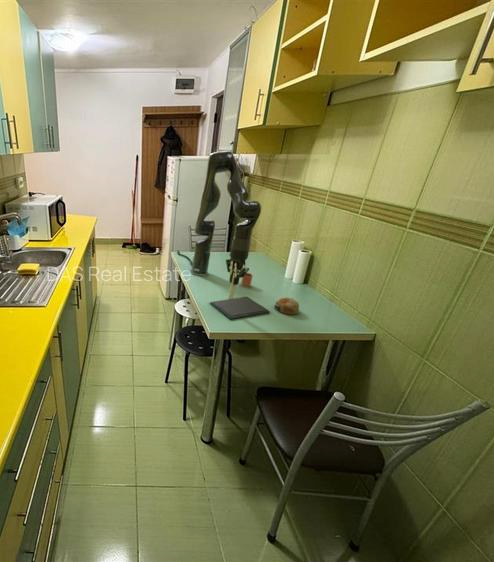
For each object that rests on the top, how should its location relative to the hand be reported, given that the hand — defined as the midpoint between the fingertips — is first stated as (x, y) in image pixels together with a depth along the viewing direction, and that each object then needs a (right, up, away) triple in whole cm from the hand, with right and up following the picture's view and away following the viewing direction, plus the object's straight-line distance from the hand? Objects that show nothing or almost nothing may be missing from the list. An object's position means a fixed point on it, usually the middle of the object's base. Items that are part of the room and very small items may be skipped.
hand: (233, 283), depth 140 cm
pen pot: (+19, -2, +32) cm, 37 cm away
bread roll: (+28, -13, +7) cm, 32 cm away
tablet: (+5, -12, +8) cm, 15 cm away
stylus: (0, -8, +3) cm, 8 cm away
